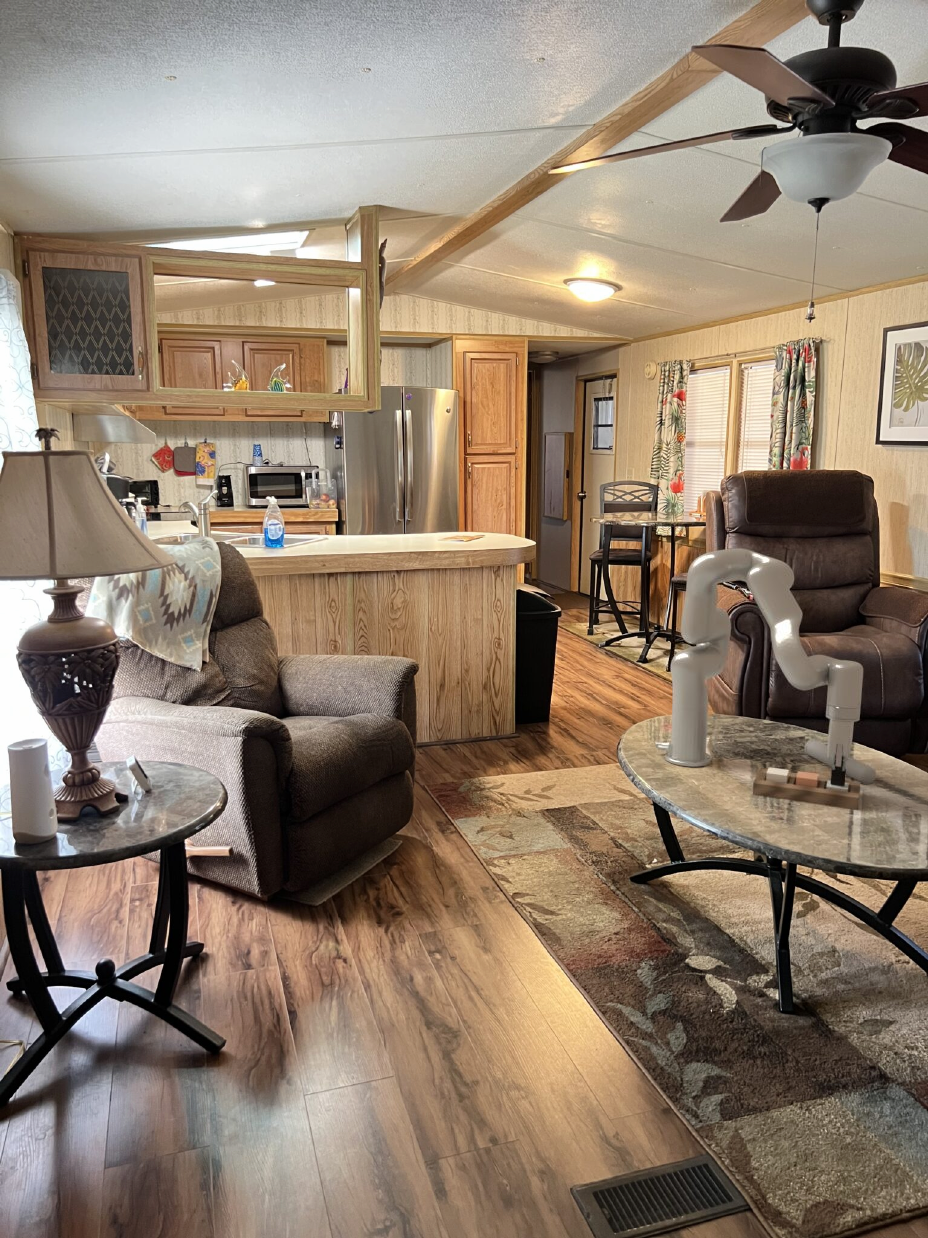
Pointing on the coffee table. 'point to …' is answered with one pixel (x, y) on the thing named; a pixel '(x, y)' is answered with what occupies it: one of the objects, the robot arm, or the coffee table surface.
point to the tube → (852, 766)
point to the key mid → (807, 779)
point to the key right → (837, 787)
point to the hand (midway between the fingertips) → (837, 784)
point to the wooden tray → (807, 791)
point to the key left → (777, 775)
